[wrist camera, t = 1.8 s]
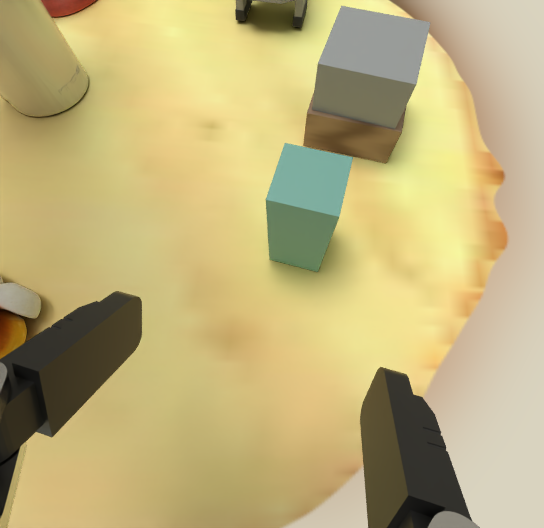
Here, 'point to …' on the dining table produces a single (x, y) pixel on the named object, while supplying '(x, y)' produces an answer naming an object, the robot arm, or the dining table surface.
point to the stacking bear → (65, 6)
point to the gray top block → (369, 66)
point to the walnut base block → (350, 135)
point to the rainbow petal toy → (8, 326)
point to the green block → (305, 204)
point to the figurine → (245, 3)
